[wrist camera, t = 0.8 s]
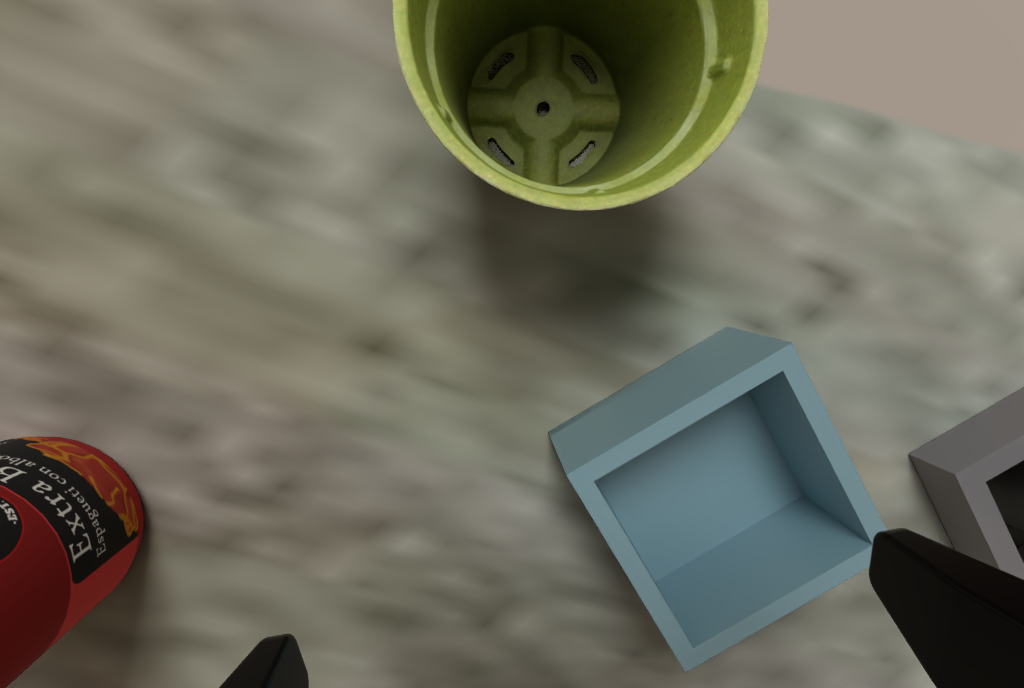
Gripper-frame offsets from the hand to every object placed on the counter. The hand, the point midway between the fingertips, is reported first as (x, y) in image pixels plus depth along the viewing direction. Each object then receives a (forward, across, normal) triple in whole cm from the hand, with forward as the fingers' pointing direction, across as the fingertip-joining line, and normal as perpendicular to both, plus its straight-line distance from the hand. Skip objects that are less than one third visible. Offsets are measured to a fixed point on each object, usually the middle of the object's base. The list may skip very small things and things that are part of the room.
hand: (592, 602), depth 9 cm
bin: (+14, -7, +8) cm, 18 cm away
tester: (+13, -24, +10) cm, 30 cm away
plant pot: (+18, -3, -7) cm, 19 cm away
